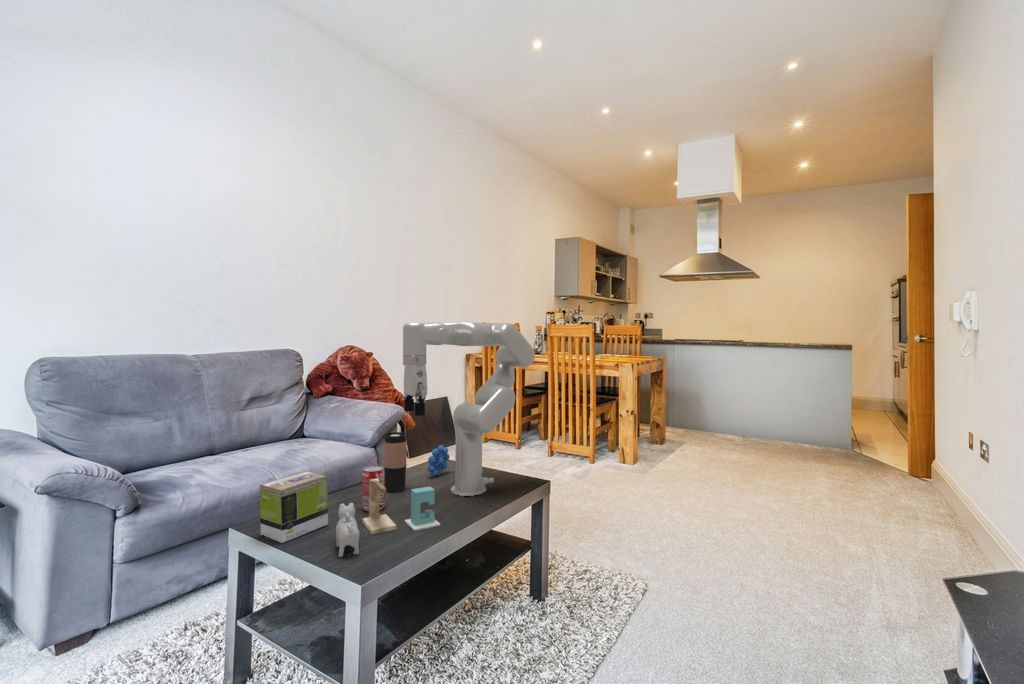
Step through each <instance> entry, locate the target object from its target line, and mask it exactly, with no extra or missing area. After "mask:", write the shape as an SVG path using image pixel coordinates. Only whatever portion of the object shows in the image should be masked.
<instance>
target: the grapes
mask: <svg viewBox="0 0 1024 684" xmlns="http://www.w3.org/2000/svg"><path fill="white" fill-rule="evenodd" d="M449 460H450V454H449V448H448V447H447V446H444V444H440V445H438V446H437V448H434V449H432V451H431V455H430V456H429V457H428V459H427V463H428V466H427V471H428V472H429V473H430V476H431V477H436V476H438V475H439V476H441V475H442V474H443V471H444V470H446V469H447V468H448V463H447V461H449Z"/></svg>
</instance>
